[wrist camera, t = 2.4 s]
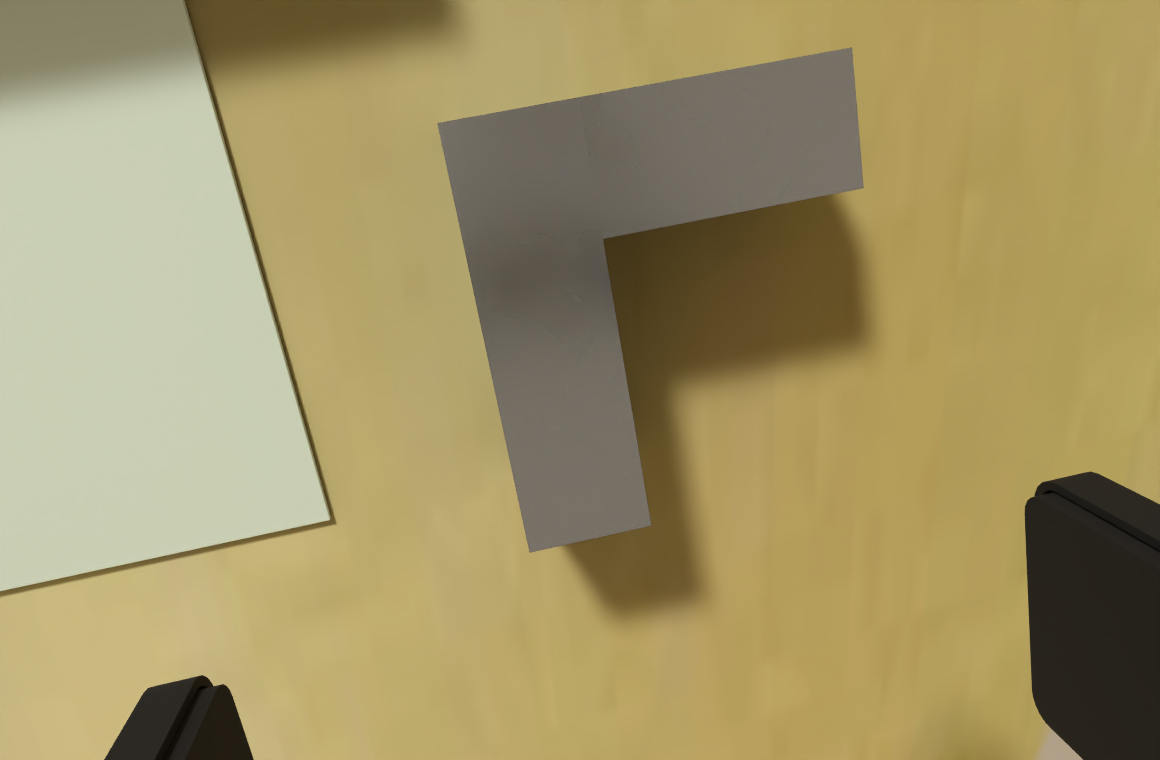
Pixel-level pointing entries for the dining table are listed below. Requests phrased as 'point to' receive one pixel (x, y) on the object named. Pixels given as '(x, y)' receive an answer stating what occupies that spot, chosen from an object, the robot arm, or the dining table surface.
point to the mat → (130, 305)
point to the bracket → (608, 209)
